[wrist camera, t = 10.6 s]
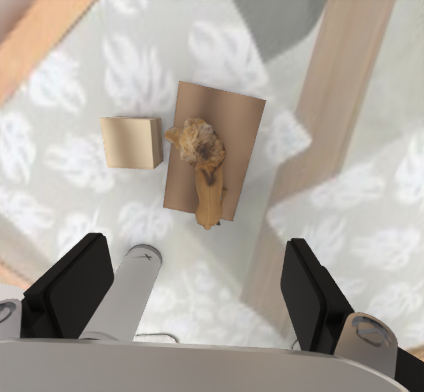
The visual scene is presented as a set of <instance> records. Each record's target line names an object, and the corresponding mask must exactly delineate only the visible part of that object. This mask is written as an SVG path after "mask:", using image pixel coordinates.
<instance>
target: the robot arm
mask: <svg viewBox="0 0 424 392" xmlns="http://www.w3.org/2000/svg"><path fill="white" fill-rule="evenodd" d="M113 282H114V273H113V268H112V263H111V258H110V254H109V249H108V244H107V239H106V237H105V236H103V234H102V233H88V234H87V235H86V236H85V237H84V238H83V239H82V240H80V241H79V242H78V243H77V244H76V245H75V246H74V247H73V248H72V249H71V250H70V251H69V252H67V253H66V254H65V255H64V256H63V257H62V258H61V259H60V260H59V261H58V262H57V263H56V264H54V265H53V266H52V267H51V268H50V269H49V270H48V271H47V272H46V273H45V274H44V275H43V276H42V277H40V278H39V279H38V280H37V281H36V282H35V283H34V284H33V285H32V286H31V287H30V288H29V289H27V290H26V291H25V292H24V293H23V294H24V296H25V298H24V299H22V301H19V300H18V299H6V300H3V301H0V392H424V362H423V361H421V360H419V359H418V358H416V357H414V356H413V355H411V354H409V353H408V352H406V351H404V350H403V349H401V348H399V347H398V342H397V338H396V337H395V335H394V333H393V332H392V331H391V329H390V328H389V327H388V326H387V325H385V324H384V323H383V322H382V321H380V320H378V319H377V318H375V317H373V316H371V315H368V314H365V313H360V312H358V313H355V311H354V310H353V308H352V307H351V305H350V304H349V302H348V301H347V299H346V298H345V296H344V295H343V293H342V292H341V290H340V289H339V287H338V286H337V284H336V283H335V281H334V280H333V278H332V277H331V275H330V273H329V272H328V270H327V269H326V268H325V267H324V266H321V264H320V263H319V261H318V260H317V258H316V256H315V255H314V253H313V252H312V250H311V249H310V247H309V245H308V244H307V242H306V241H305V239H303V238H292V239H291V241H287V245H286V251H285V257H284V264H283V270H282V276H281V291H282V294H283V297H284V300H285V303H286V306H287V309H288V312H289V315H290V318H291V321H292V324H293V327H294V330H295V333H296V336H297V339H298V341H297V342H296V343H295V344H294V346H293V349H292V350H286V349H272V348H257V347H238V346H219V345H200V344H179V343H157V342H135V341H111V340H86V339H78V338H79V337H80V335H81V334H82V332H83V330H84V329H85V327H86V326H87V324H88V322H89V321H90V319H91V318H92V316H93V315H94V313H95V311H96V310H97V308H98V307H99V305H100V303H101V302H102V300H103V299H104V297H105V295H106V294H107V292H108V291H109V289H110V287H111V286H112V284H113Z"/></svg>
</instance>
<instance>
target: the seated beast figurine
mask: <svg viewBox="0 0 424 392" xmlns="http://www.w3.org/2000/svg"><path fill="white" fill-rule="evenodd" d="M133 341H135V342H157V343H177V342H176V341H175V339H174V338H172V337H170V336H168V335H163V334H161V335H139V336H137V337H135V338H134V340H133Z"/></svg>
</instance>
